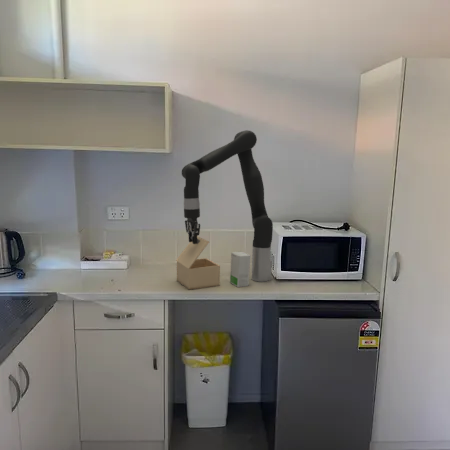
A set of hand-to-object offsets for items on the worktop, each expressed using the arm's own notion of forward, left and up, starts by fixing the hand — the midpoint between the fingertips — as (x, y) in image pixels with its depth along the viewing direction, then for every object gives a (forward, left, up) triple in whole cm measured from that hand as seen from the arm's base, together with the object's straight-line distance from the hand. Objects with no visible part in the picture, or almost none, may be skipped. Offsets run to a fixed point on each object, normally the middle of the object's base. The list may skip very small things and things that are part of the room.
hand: (193, 242), depth 197 cm
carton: (-3, 0, -21) cm, 21 cm away
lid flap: (0, 0, -5) cm, 5 cm away
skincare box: (-21, +10, -21) cm, 31 cm away
